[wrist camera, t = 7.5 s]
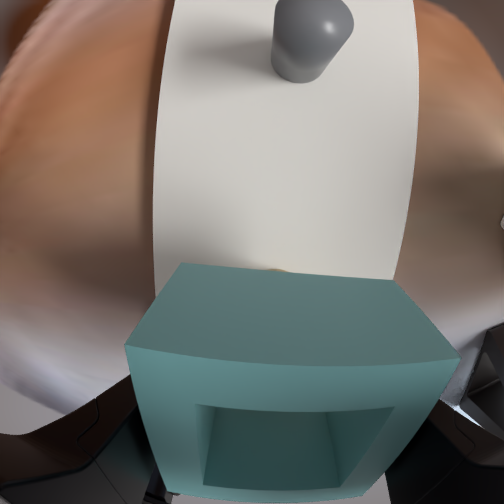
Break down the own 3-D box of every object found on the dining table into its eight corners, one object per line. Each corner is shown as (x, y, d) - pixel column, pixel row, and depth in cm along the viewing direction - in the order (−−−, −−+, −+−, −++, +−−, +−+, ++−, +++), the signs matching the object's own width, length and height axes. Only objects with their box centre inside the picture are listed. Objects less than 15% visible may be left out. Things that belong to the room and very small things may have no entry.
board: (168, 366, 17) (142, 430, 12) (189, -31, 9) (162, -87, 4) (352, 379, 17) (372, 443, 12) (404, -3, 9) (449, -44, 4)
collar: (188, 409, 10) (167, 491, 6) (181, 262, 8) (124, 344, 4) (343, 417, 10) (362, 496, 6) (393, 279, 8) (461, 357, 4)
